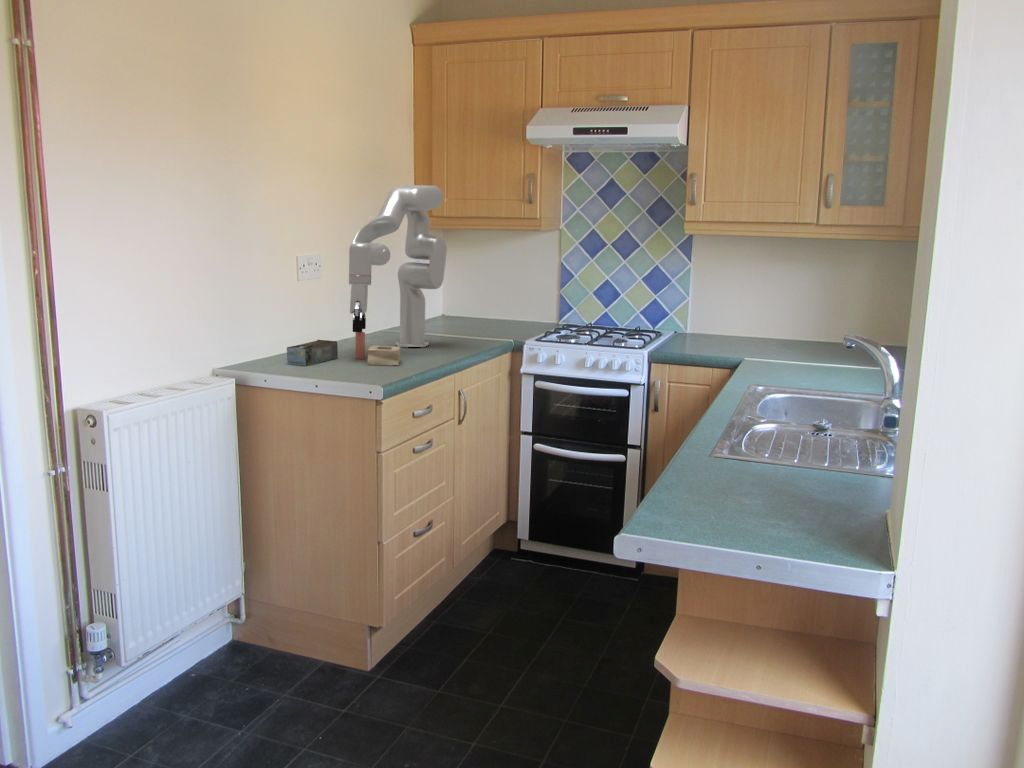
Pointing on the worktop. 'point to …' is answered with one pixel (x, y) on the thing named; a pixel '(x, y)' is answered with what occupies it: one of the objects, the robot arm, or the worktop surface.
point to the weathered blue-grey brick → (312, 352)
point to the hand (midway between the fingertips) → (359, 330)
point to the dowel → (360, 345)
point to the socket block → (384, 355)
